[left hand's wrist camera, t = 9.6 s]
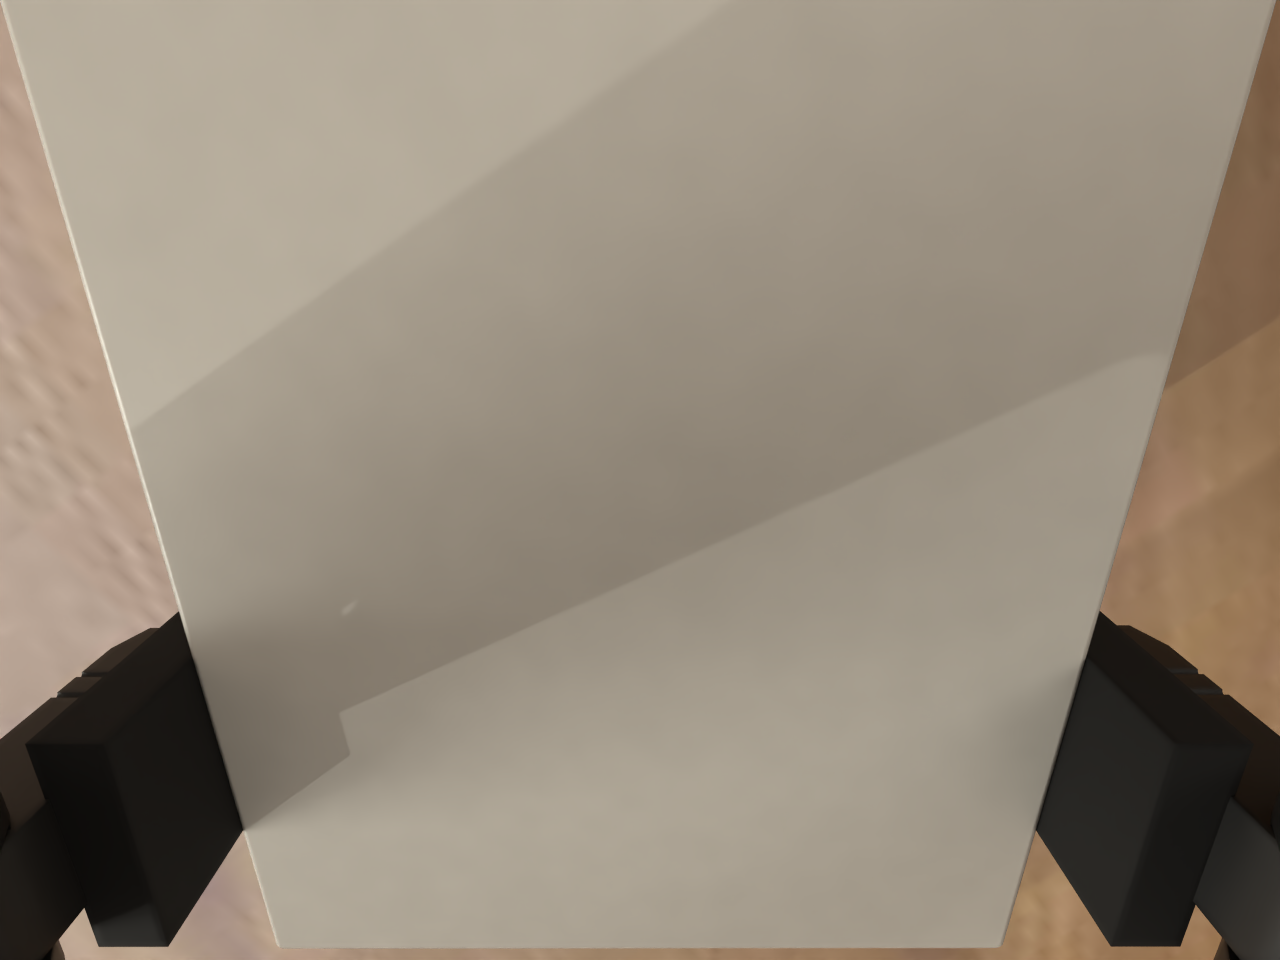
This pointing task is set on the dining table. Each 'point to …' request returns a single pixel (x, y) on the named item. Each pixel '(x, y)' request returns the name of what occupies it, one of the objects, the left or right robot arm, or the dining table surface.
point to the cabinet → (638, 430)
